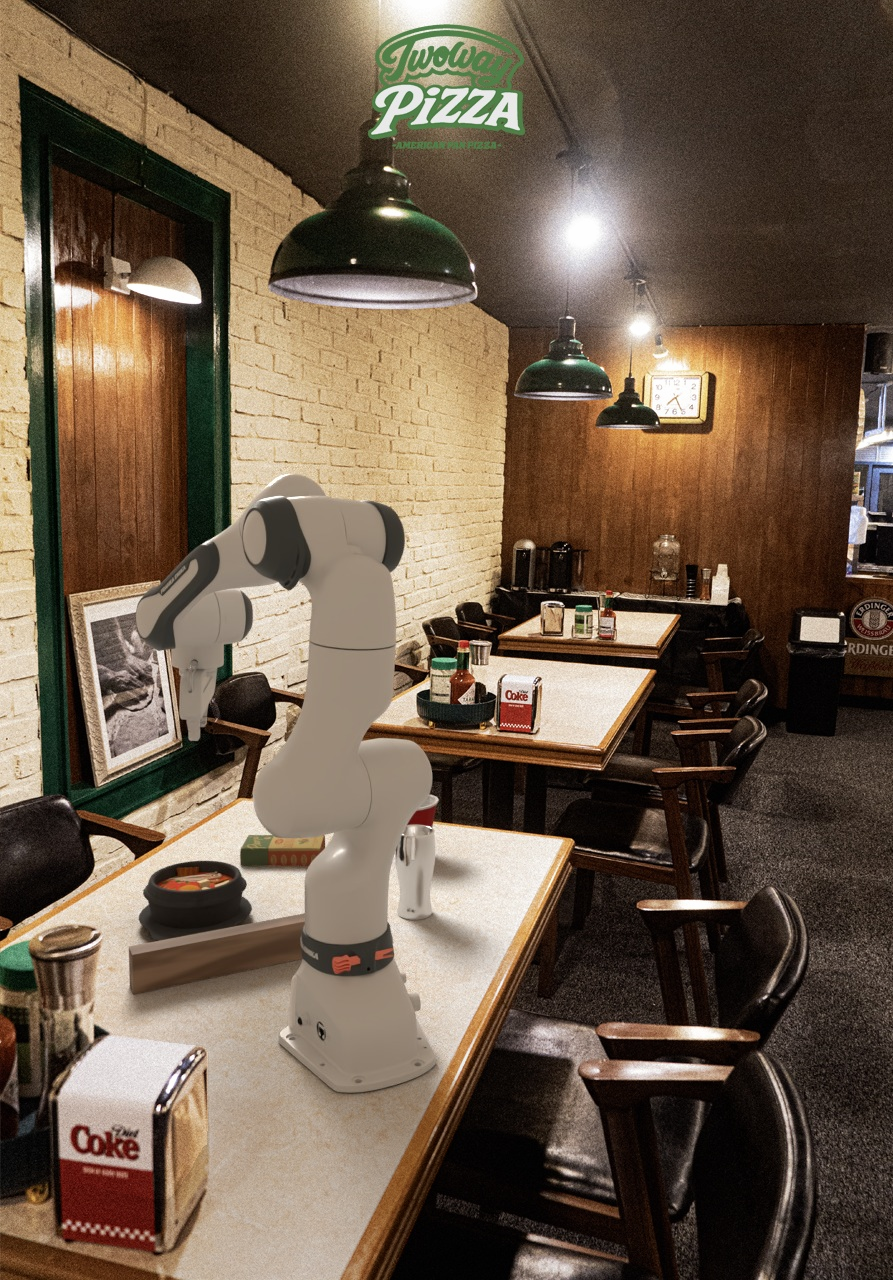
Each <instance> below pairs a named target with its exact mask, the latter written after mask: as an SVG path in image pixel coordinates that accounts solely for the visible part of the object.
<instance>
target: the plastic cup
mask: <svg viewBox="0 0 893 1280" xmlns="http://www.w3.org/2000/svg"><path fill="white" fill-rule="evenodd" d="M439 800H440V799H439V798H438V796H435V795H433V794H429V796H428V798H427V799H426V801H425V802H424V803H423V804H422V805H421V806H420V807H419V808H418V809H417V811H416V812H415V813H414V814H413V816H412V817H411V819H410V820H409V822H408V824H407V825H426V826H429V827H432V828H433V827H434V819H435V815H436V811H437V805H438V803H439Z"/></svg>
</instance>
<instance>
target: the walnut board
mask: <svg viewBox="0 0 893 1280" xmlns="http://www.w3.org/2000/svg"><path fill="white" fill-rule="evenodd" d="M304 924H305V912H304V913H299V914H298V913H297V914H294V915H289V916H282V917H278V918H277V917H276V918H271V919H266V920H261V921H257V922H251V923H246V924H242V925H240V924H239V925H236V926H235V927H229V928H224V929H219V930H213V931H208V932H203V933H198V934H192V935H187V936H182V937H176V938H171V939H166V940H160V941H155V940H154V941H151V942H145V943H140V944H135V945H129V946H128V971H129V972H128V974H129V987H130V989H131V992H132V994H133V995H137V994H143V993H147V992H151V991H157V990H160V989H166V988H171V987H175V986H180V985H184V984H189V983H193V982H195V983H196V982H199V981H204V980H208V979H214V978H218V977H222V976H227V975H232V974H236V973H242V972H246V971H250V970H255V969H260V968H265V967H270V966H273V965H274V966H275V965H278V964H284V963H288V962H292V961H297V960H303V957H302V955H301V935H302V927H303V926H304Z"/></svg>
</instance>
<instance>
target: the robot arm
mask: <svg viewBox="0 0 893 1280" xmlns="http://www.w3.org/2000/svg"><path fill="white" fill-rule="evenodd" d="M405 535H406V534H405V529H404V525H403V523H402V521H401V518H400V517H399V515H398V513H397V512H396V511H395V510H394V509H393V508H392V507H390V506H388V505H386V504H383V503H380V502H377V501H374V500H370V499H369V500H368V499H365V500H363V499H362V500H355V499H350V498H349V499H348V498H338V497H331V496H327V494H326V493H325V491H324V490H323V489H322V487H321V486H320V485H319V484H318V483H317V482H316V481H314V480H313V479H312V478H310V477H307V476H305V475H302V474H298V473H287V474H284V475H280V476H278V477H276V478H275V479H273V480H272V481H271V482H270V483H268V484H267V485H266V486H264V488H263V489H261V490H260V491H259V492H258V493H257V495H256V496H255V497H254V498H253V499H252V500H251V501H250V503H249V504H248V506H247V507H246V508H245V510H243V513H242V514H241V515H240V516H239V518H237V519H236V520H235V521H234V522H233V523H232V524H231V525H229V526H228V527H227V528H225V529H224V530H223V531H221V532H220V533H218V534H217V535H215V536H214V537H212V538H210V539H208V540H206V541H205V542H203V543H202V544H200V545H198V546H195V548H194V549H193V550H191V551H190V552H189V553H188V555H186V556H185V557H184V559H183V560H182V561H180V562H179V563H178V564H177V566H176V567H175V568H174V569H173V570H172V571H171V572H170V573H169V574H168V575H167V576H166V577H165V579H163V580H162V581H161V582H160V583H159V584H158V585H156V586H152V587H150V589H148V590H147V591H146V592H145V593H144V595H142V596H141V598H140V600H139V601H138V603H137V606H136V608H135V609H136V610H135V627H136V631H137V633H138V635H139V637H140V638H141V640H143V642H145V643H146V644H147V645H149V646H150V647H151V648H153V649H154V650H157V652H160V651H167V650H168V651H169V650H171V651H170V653H171V663H170V664H171V666H172V667H173V668H177V669H178V674H179V676H180V683H179V707H178V708H179V711H178V712H179V713H178V714H179V717H180V719H181V720H182V721H183V720H186V726H187V730H188V732H187V733H188V740H189V741H190V742H198V741H199V740H200V739H201V728H205V727H206V725H207V723H208V722H207V719H208V718H207V717H208V709H209V704H210V702H211V700H212V698H214V694H215V690H216V683H217V673H218V668H221V667H223V666H224V664H225V662H224V661H225V659H224V656H225V651H224V650H225V646H224V645H230V644H235V643H236V644H237V643H239V642H242V641H243V640H244V639H245V638H246V637H247V636H248V634H249V633H250V631H251V630H252V629H253V628H252V627H253V623H254V621H253V620H254V611H253V603H252V601H251V599H250V598H249V597H248V596H247V594H246V593H245V592H244V591H242V590H241V588H254V587H263V586H270V585H274V584H277V583H279V585H280V586H281V587H282V588H283V589H285V590H288V591H292V590H293V589H294V588H295V587H296V586H297V585H298V583H299V582H300V583H301V584H303V586H304V587H305V588H306V589H307V591H308V594H309V596H310V599H311V600H310V601H311V612H310V613H311V614H310V623H309V635H308V636H309V637H308V639H309V640H308V657H307V663H308V664H307V674H306V684H305V694H304V697H303V698H304V700H303V704H302V707H301V710H300V713H299V716H298V718H297V721H296V723H295V725H294V727H293V729H292V731H291V733H290V735H289V736H288V738H287V740H286V742H285V743H284V744H283V746H282V747H281V748H280V750H279V751H278V752H277V753H276V754H275V756H274V757H272V758H271V760H270V761H269V762H267V763H266V764H265V765H264V766H262V768H261V769H260V771H259V773H258V774H257V777H256V778H255V779H256V780H255V782H254V786H253V791H252V801H253V802H252V803H253V809H254V812H255V815H256V817H257V819H258V821H259V823H260V824H261V825H262V827H263V828H264V829H265V830H266V831H267V832H268V833H269V834H270V835H273V836H275V837H277V838H314V837H318V836H322V835H325V836H326V835H330V834H332V836H331V839H330V840H329V842H328V843H327V845H325V849H324V850H323V851H322V852H321V853H320V854H319V855H318V856H317V857H316V858H315V859H314V860H313V861H312V862H311V864H310V865H309V866H307V870H306V872H305V876H304V913H305V924H304V926H303V927H302V935H301V955H302V957H303V959H301V962H300V964H299V967H298V969H297V970H296V971H295V973H294V974H293V976H292V978H291V981H290V982H291V983H290V997H289V1014H288V1016H289V1017H288V1025H287V1026H284V1028H283V1029H282V1030H280V1032H279V1033H278V1044H280V1045H281V1046H282V1047H283V1048H284V1049H285V1050H286V1051H287V1052H289V1054H291V1055H292V1056H293V1057H294V1058H296V1060H298V1061H299V1062H300V1063H301V1064H303V1066H305V1067H306V1068H307V1069H309V1071H311V1072H312V1073H313V1074H314V1075H315V1076H316V1077H318V1078H319V1079H320V1080H321V1081H322V1082H324V1083H325V1084H326V1085H327V1086H328V1087H329V1088H330V1089H331V1090H333V1091H334V1092H338V1093H363V1092H371V1091H376V1090H380V1089H385V1088H389V1087H392V1086H396V1085H398V1084H402V1083H405V1082H408V1081H410V1080H413V1079H416V1078H418V1077H420V1076H422V1075H424V1074H425V1073H427V1072H429V1071H430V1070H431V1069H432V1068H433V1067H434V1066H436V1064H437V1060H436V1054H435V1052H434V1050H433V1048H432V1046H431V1044H430V1042H429V1039H428V1038H427V1037H426V1035H425V1033H424V1031H423V1029H422V1027H421V1025H420V1023H419V1021H418V1019H417V1016H416V1015H417V1014H416V1012H419V1011H420V1010H421V1005H422V1004H421V1003H422V1002H421V997H420V994H419V993H418V992H411V993H409V992H408V990H407V986H406V983H407V975H406V973H405V972H400V969H399V967H398V964H397V962H396V959H395V950H394V938H393V933H392V930H391V925H390V923H389V921H388V919H389V917H388V913H389V911H388V910H389V909H388V907H389V890H390V889H389V888H390V887H389V885H390V875H391V870H392V869H391V868H392V865H393V860H394V856H395V851H396V848H397V845H398V843H399V840H400V838H401V836H402V833H403V831H404V829H405V827H406V825H407V824H408V822H409V820H410V819H411V817H412V816H413V814H414V813H415V812H416V811H417V809H418V808H419V807H420V806H421V805H422V804H423V803H424V802H425V801H426V799H427V798H428V796H429V795H430V793H431V789H432V786H433V772H432V771H433V770H432V765H431V763H430V760H429V758H428V756H427V754H426V753H425V751H424V750H423V749H422V748H421V746H420V745H419V744H417V743H416V742H415V741H413V740H409V739H401V738H386V737H381V738H380V737H378V738H372V739H368V740H367V739H366V740H363V739H364V736H365V735H366V733H367V731H368V730H369V728H371V726H372V725H373V724H374V722H376V720H378V719H379V718H380V717H381V716H383V714H384V713H386V712H387V710H388V709H389V707H390V706H391V704H392V701H393V697H394V681H395V680H394V679H395V665H396V648H397V646H396V643H397V642H396V641H397V614H396V600H395V599H396V598H395V590H394V583H393V578H392V574H391V573H392V572H394V571H395V570H396V568H397V567H398V565H399V564H400V562H401V559H402V557H403V555H404V551H405V546H406V545H405V544H406V538H405V537H406V536H405Z"/></svg>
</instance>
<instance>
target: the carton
mask: <svg viewBox="0 0 893 1280" xmlns="http://www.w3.org/2000/svg"><path fill="white" fill-rule="evenodd" d="M325 848H326V835H322V836H318V837H314V838H277V837H275V836H273V835H272V834H248V835H247V837H246V839H245V841H244V842H243V844H242V846H241V847H240V849H239V850H240V852H239V853H240V855H239V856H240V857H239V860H240V862H239V863H240V866H241V865H242V866H241V867H309V865H310V864H311V862H312V861H313V860H314V859H315V858H316V857H317V856H318V855H319V854H320V853H321V852H322V851H323V850H324V849H325Z"/></svg>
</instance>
